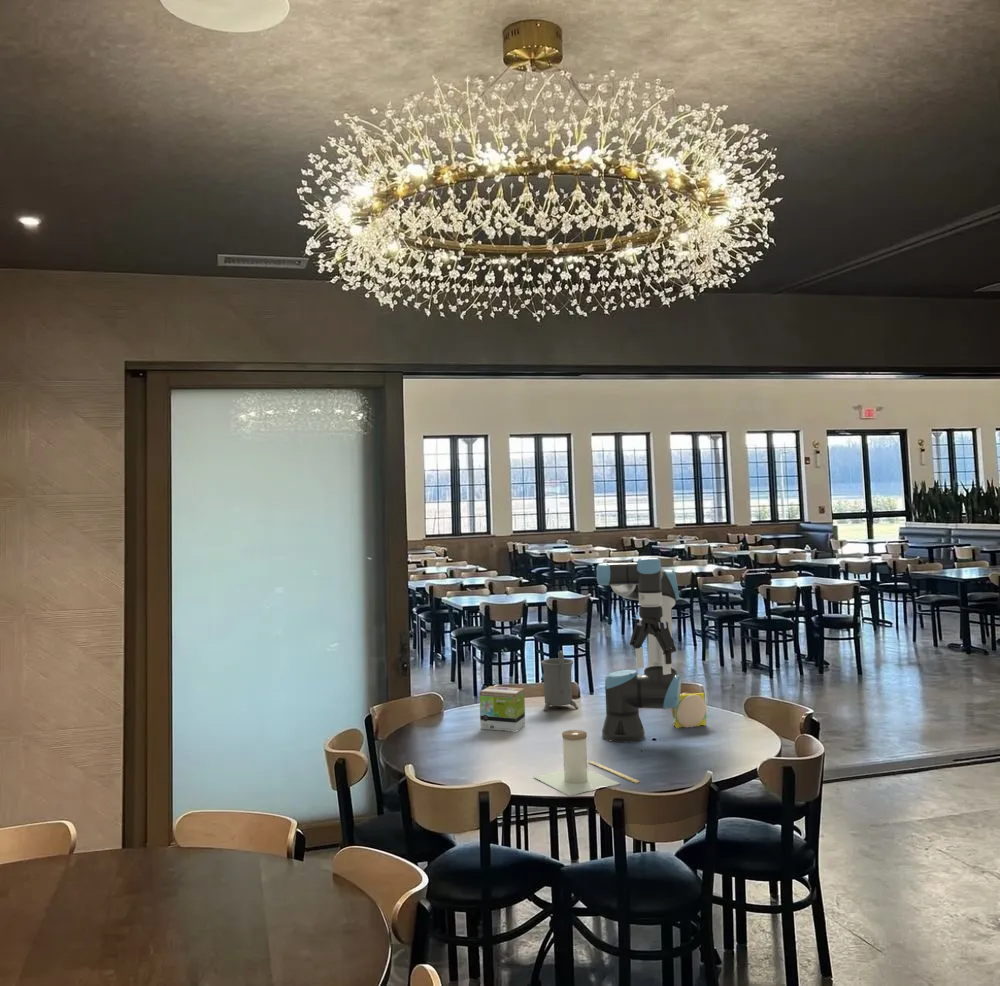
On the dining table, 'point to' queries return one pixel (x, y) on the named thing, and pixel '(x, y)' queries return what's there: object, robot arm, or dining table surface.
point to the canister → (575, 756)
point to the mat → (570, 789)
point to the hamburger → (690, 710)
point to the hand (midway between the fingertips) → (653, 671)
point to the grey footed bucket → (558, 681)
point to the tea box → (502, 708)
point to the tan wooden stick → (617, 773)
